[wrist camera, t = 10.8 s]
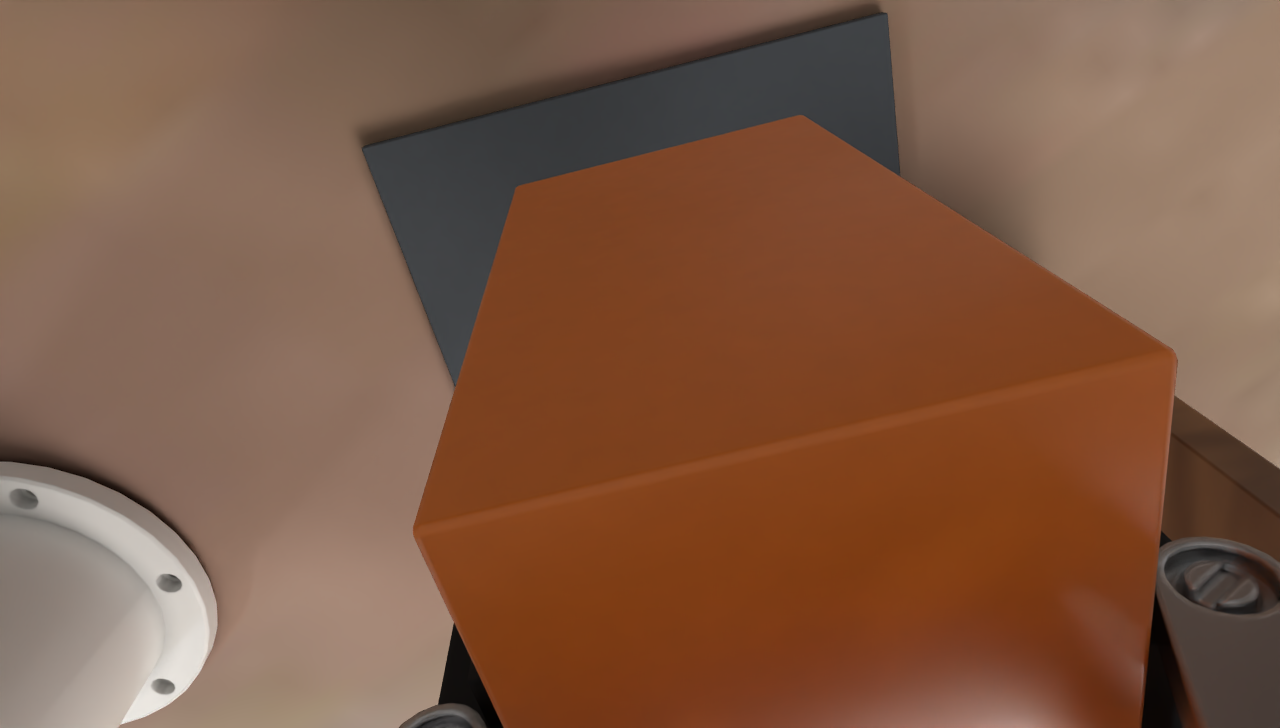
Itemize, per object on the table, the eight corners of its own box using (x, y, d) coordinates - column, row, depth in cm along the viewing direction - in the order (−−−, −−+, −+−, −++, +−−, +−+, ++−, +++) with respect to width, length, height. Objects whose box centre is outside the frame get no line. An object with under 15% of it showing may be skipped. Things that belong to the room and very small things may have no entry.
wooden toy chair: (732, 663, 34) (822, 1053, 22) (665, 397, 28) (738, 732, 16) (1044, 592, 34) (1318, 950, 21) (1047, 305, 28) (1436, 575, 15)
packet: (619, 525, 20) (658, 1063, 10) (514, 185, 16) (406, 532, 6) (850, 472, 20) (1120, 971, 10) (803, 112, 16) (1186, 350, 6)
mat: (471, 419, 28) (470, 425, 28) (364, 145, 23) (361, 148, 23) (907, 313, 27) (911, 318, 27) (883, 11, 23) (887, 12, 23)
